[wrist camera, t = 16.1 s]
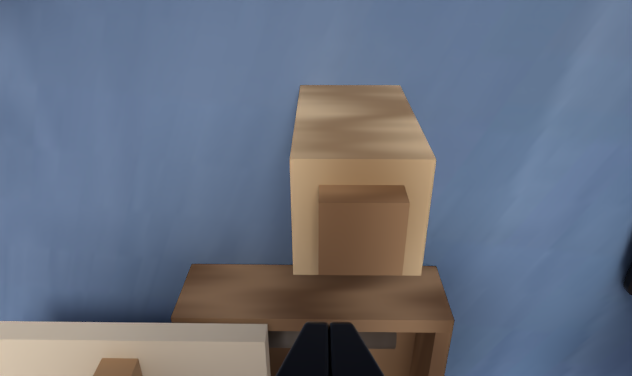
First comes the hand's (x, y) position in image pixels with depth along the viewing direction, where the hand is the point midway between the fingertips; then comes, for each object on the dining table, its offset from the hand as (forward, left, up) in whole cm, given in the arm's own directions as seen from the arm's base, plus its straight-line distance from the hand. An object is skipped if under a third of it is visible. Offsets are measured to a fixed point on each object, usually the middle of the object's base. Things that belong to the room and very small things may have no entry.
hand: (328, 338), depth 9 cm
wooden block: (-1, +1, -12) cm, 13 cm away
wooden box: (0, +13, -12) cm, 18 cm away
